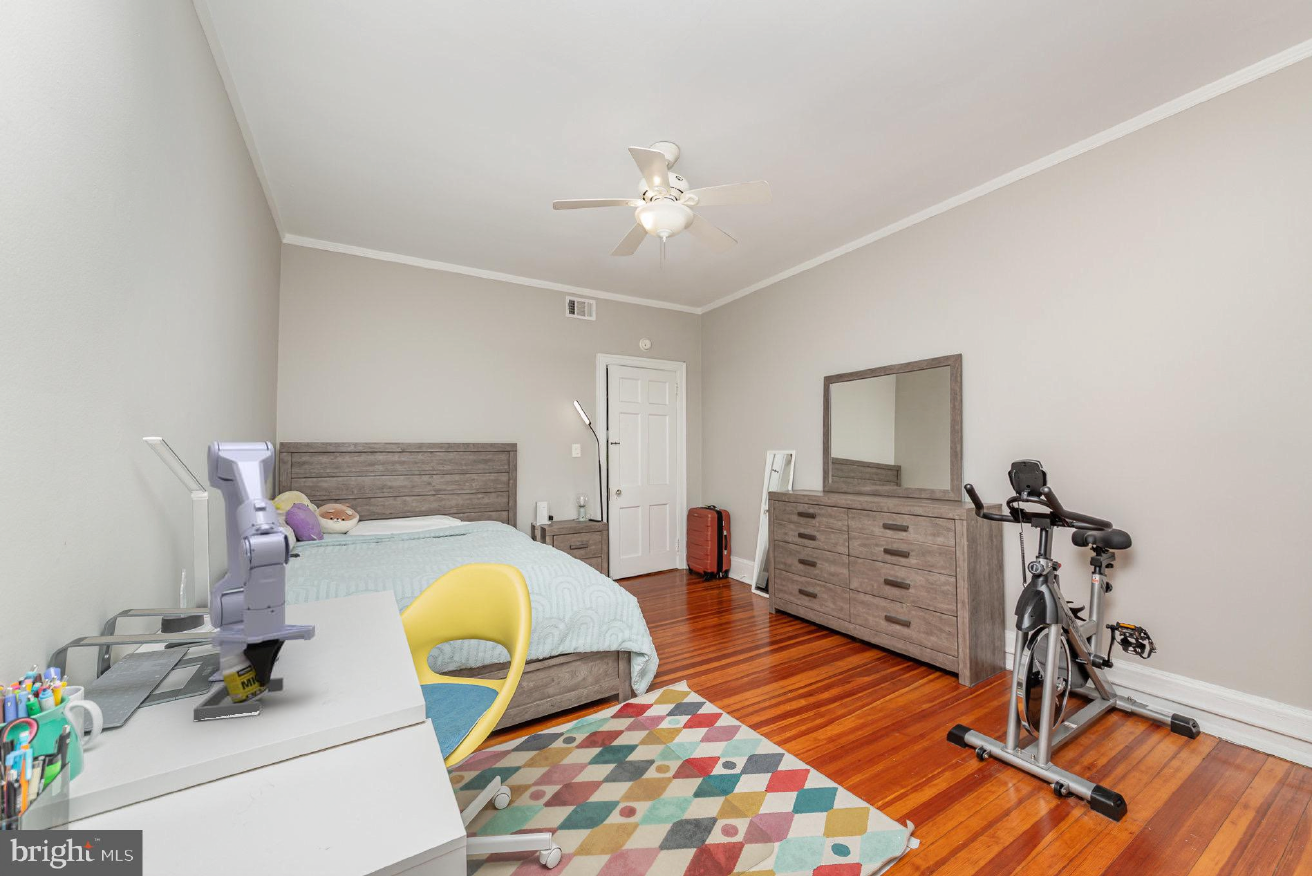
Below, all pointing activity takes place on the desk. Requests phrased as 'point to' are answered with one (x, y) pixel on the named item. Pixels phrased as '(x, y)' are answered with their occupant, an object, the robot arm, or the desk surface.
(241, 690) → the supplement bottle
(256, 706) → the cradle
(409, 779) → the desk surface
